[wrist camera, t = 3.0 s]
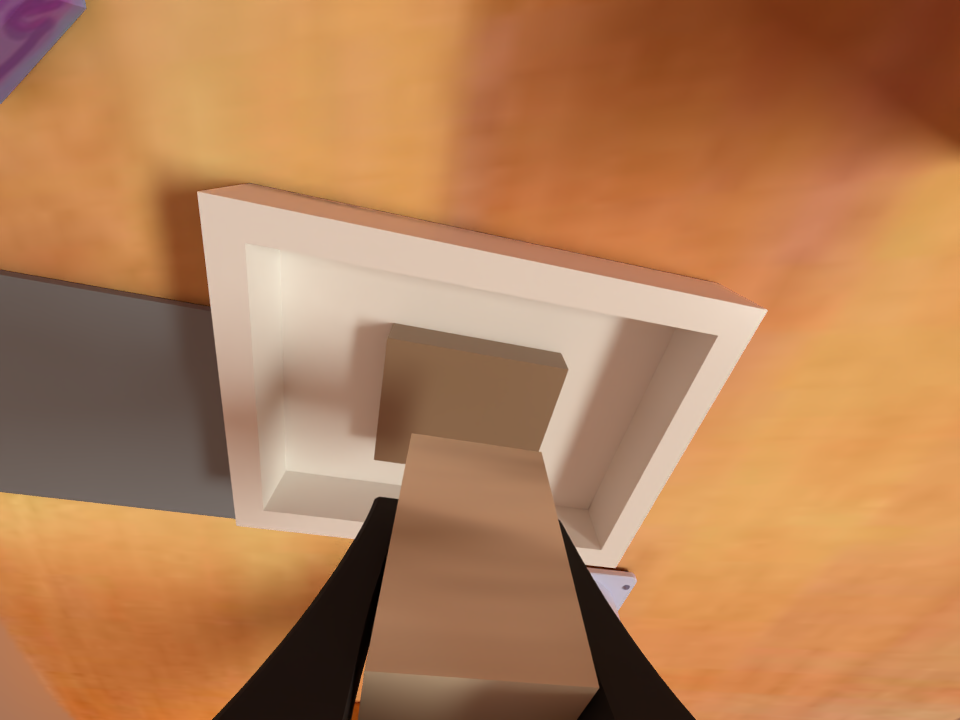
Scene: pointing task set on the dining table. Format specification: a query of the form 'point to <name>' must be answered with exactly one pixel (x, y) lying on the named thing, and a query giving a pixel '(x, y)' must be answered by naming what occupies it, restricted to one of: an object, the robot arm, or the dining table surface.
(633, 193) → the dining table surface
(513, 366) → the tray
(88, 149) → the dining table surface
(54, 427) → the rubber mat
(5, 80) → the lantern
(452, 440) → the maple block
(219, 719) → the robot arm
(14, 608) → the dining table surface
